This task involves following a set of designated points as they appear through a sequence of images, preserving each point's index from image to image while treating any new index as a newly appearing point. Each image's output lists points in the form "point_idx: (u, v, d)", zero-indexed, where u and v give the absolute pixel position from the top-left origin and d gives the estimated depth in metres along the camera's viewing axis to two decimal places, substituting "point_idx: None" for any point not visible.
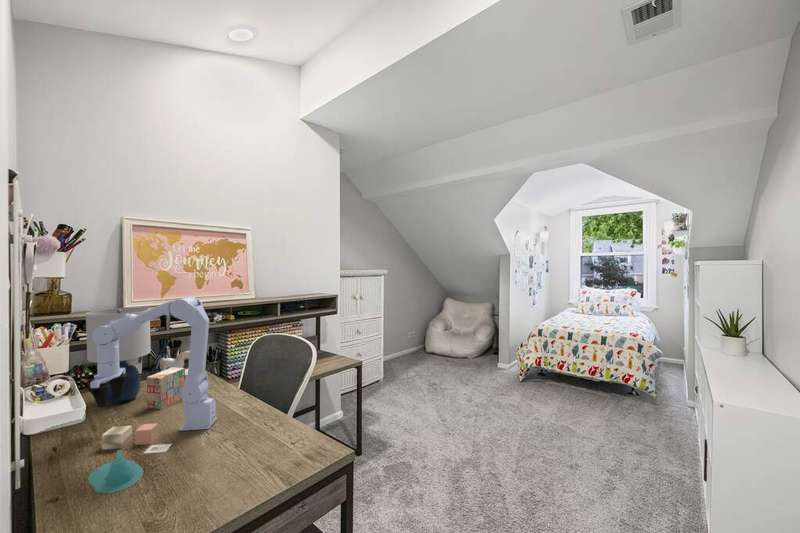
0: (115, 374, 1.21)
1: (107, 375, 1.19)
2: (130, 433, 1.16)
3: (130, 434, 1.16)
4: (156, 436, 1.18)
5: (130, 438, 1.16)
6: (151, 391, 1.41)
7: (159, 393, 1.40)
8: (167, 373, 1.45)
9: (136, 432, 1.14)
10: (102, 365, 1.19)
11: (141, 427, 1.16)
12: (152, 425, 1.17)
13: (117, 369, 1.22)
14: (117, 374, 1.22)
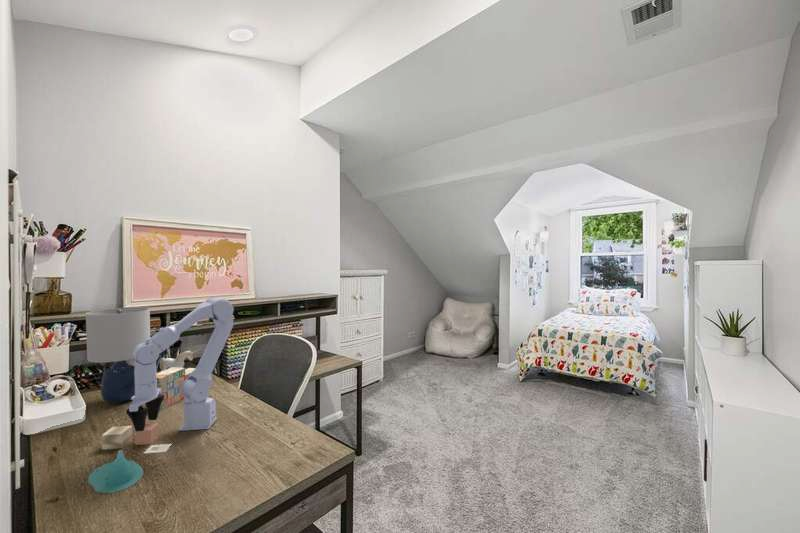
0: (153, 396, 1.15)
1: (145, 397, 1.14)
2: (130, 433, 1.16)
3: (130, 434, 1.16)
4: (156, 436, 1.18)
5: (130, 438, 1.16)
6: None
7: None
8: (167, 373, 1.45)
9: (136, 432, 1.14)
10: (140, 386, 1.13)
11: None
12: (152, 425, 1.17)
13: (155, 390, 1.16)
14: (155, 395, 1.16)
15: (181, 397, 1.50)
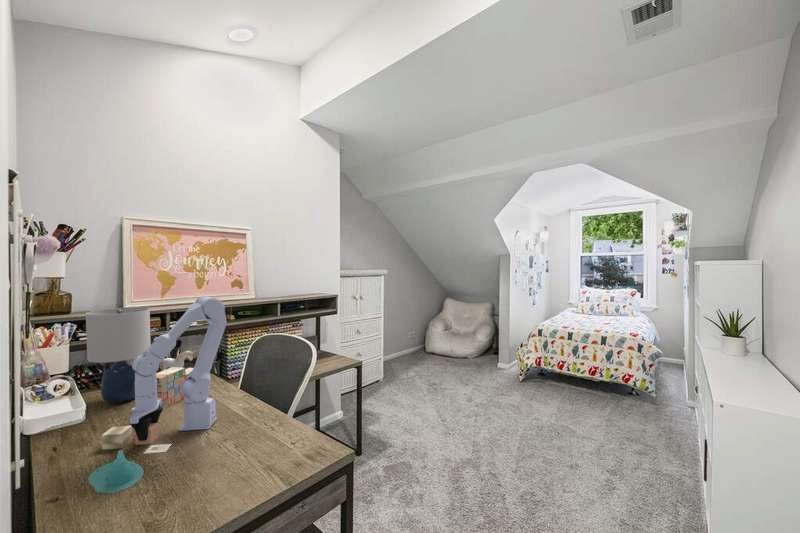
0: (153, 407, 1.15)
1: (145, 408, 1.14)
2: (130, 433, 1.17)
3: (130, 434, 1.17)
4: (156, 436, 1.18)
5: (130, 438, 1.16)
6: None
7: (160, 393, 1.41)
8: (168, 373, 1.45)
9: None
10: (140, 398, 1.13)
11: None
12: (152, 425, 1.17)
13: (155, 401, 1.16)
14: (155, 407, 1.16)
15: (181, 397, 1.50)
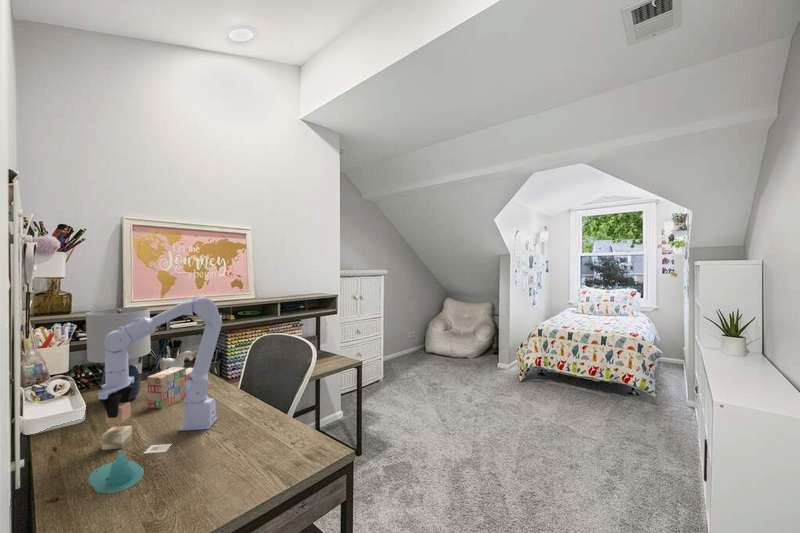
0: (124, 384, 1.13)
1: (116, 385, 1.11)
2: (130, 433, 1.17)
3: (130, 434, 1.17)
4: (128, 415, 1.15)
5: (130, 438, 1.16)
6: (152, 391, 1.41)
7: (160, 393, 1.41)
8: (168, 373, 1.45)
9: None
10: (110, 374, 1.11)
11: None
12: (123, 404, 1.15)
13: (126, 378, 1.14)
14: (126, 384, 1.14)
15: (182, 397, 1.50)
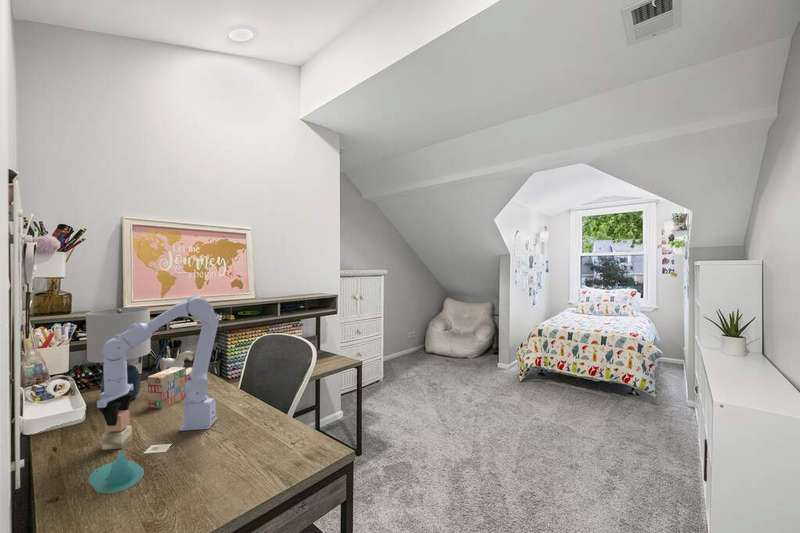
0: (123, 392, 1.13)
1: (114, 393, 1.11)
2: (130, 433, 1.17)
3: (130, 434, 1.17)
4: (127, 423, 1.15)
5: (130, 438, 1.16)
6: (152, 390, 1.41)
7: (160, 392, 1.41)
8: (168, 373, 1.45)
9: None
10: (109, 382, 1.11)
11: None
12: (122, 412, 1.15)
13: (125, 386, 1.14)
14: (125, 391, 1.14)
15: (182, 397, 1.50)
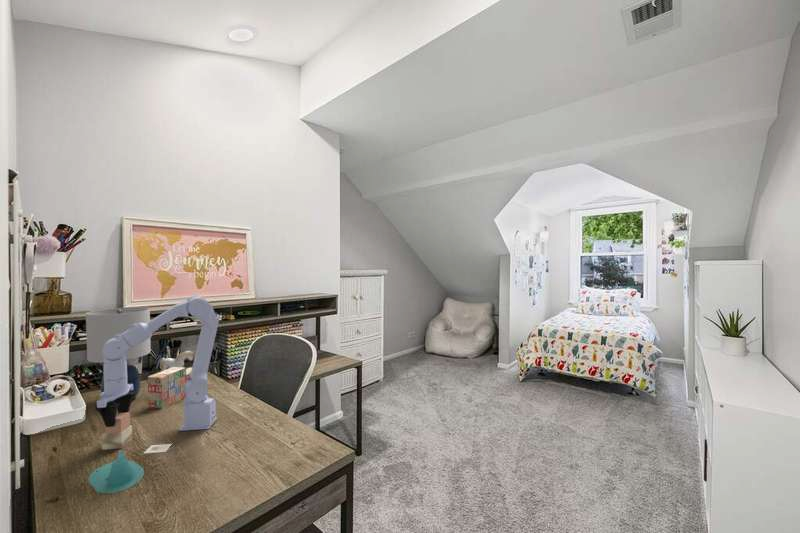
0: (123, 392, 1.13)
1: (114, 393, 1.11)
2: (130, 433, 1.17)
3: (130, 434, 1.17)
4: (127, 425, 1.15)
5: (130, 438, 1.16)
6: (152, 390, 1.42)
7: (160, 392, 1.41)
8: (168, 372, 1.45)
9: None
10: (109, 382, 1.11)
11: None
12: (123, 414, 1.15)
13: (125, 386, 1.14)
14: (125, 391, 1.14)
15: (182, 397, 1.51)
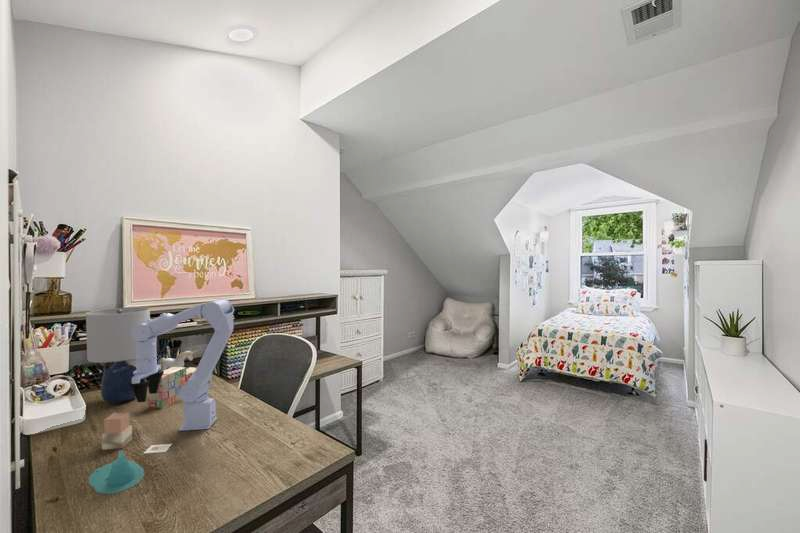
0: (153, 370, 1.25)
1: (146, 371, 1.23)
2: (130, 433, 1.17)
3: (130, 434, 1.17)
4: (126, 425, 1.15)
5: (130, 438, 1.17)
6: None
7: (161, 392, 1.41)
8: (169, 372, 1.46)
9: (105, 421, 1.12)
10: (141, 361, 1.23)
11: (111, 416, 1.14)
12: (122, 414, 1.15)
13: (155, 365, 1.26)
14: (155, 370, 1.26)
15: None
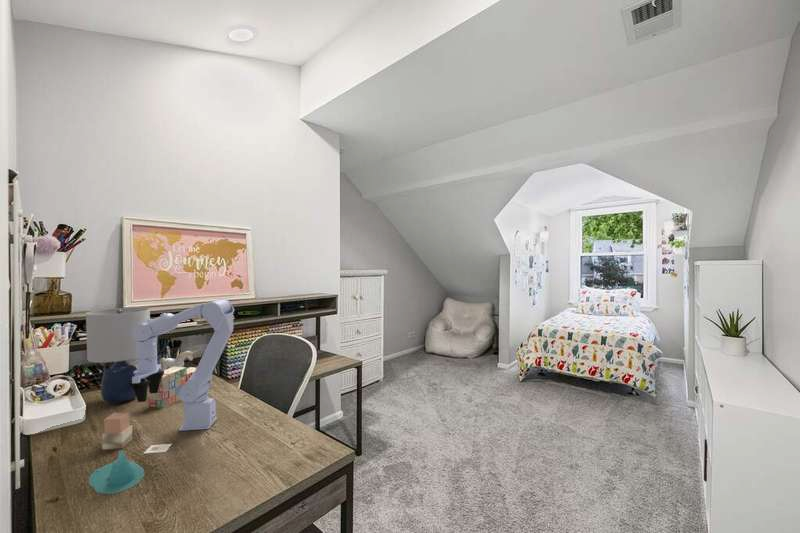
0: (154, 370, 1.25)
1: (146, 371, 1.24)
2: (130, 433, 1.17)
3: (130, 434, 1.17)
4: (126, 425, 1.15)
5: (130, 438, 1.17)
6: None
7: (161, 392, 1.41)
8: (169, 372, 1.46)
9: (105, 421, 1.12)
10: (142, 361, 1.23)
11: (111, 416, 1.14)
12: (122, 414, 1.15)
13: (155, 365, 1.26)
14: (155, 370, 1.26)
15: None
